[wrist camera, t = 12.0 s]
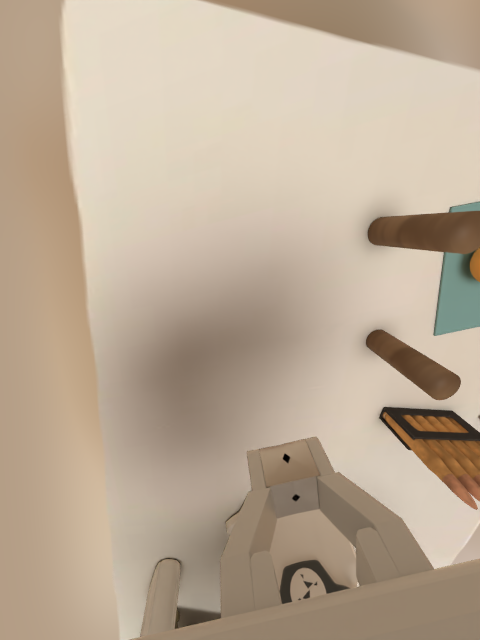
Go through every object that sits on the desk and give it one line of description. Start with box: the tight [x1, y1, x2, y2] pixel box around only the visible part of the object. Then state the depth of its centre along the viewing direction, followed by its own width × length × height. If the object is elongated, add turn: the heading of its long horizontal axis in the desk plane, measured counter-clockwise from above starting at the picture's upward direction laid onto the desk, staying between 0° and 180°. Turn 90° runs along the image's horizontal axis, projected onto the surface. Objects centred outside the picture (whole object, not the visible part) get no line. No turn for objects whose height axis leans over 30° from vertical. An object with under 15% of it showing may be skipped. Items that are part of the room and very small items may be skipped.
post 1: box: [368, 211, 480, 254], centre depth 20 cm, size 3×3×9 cm
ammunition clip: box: [380, 407, 480, 510], centre depth 28 cm, size 11×2×12 cm, turn 82°
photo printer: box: [140, 559, 180, 637], centre depth 35 cm, size 10×4×12 cm, turn 163°
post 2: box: [366, 330, 461, 400], centre depth 24 cm, size 3×3×9 cm
